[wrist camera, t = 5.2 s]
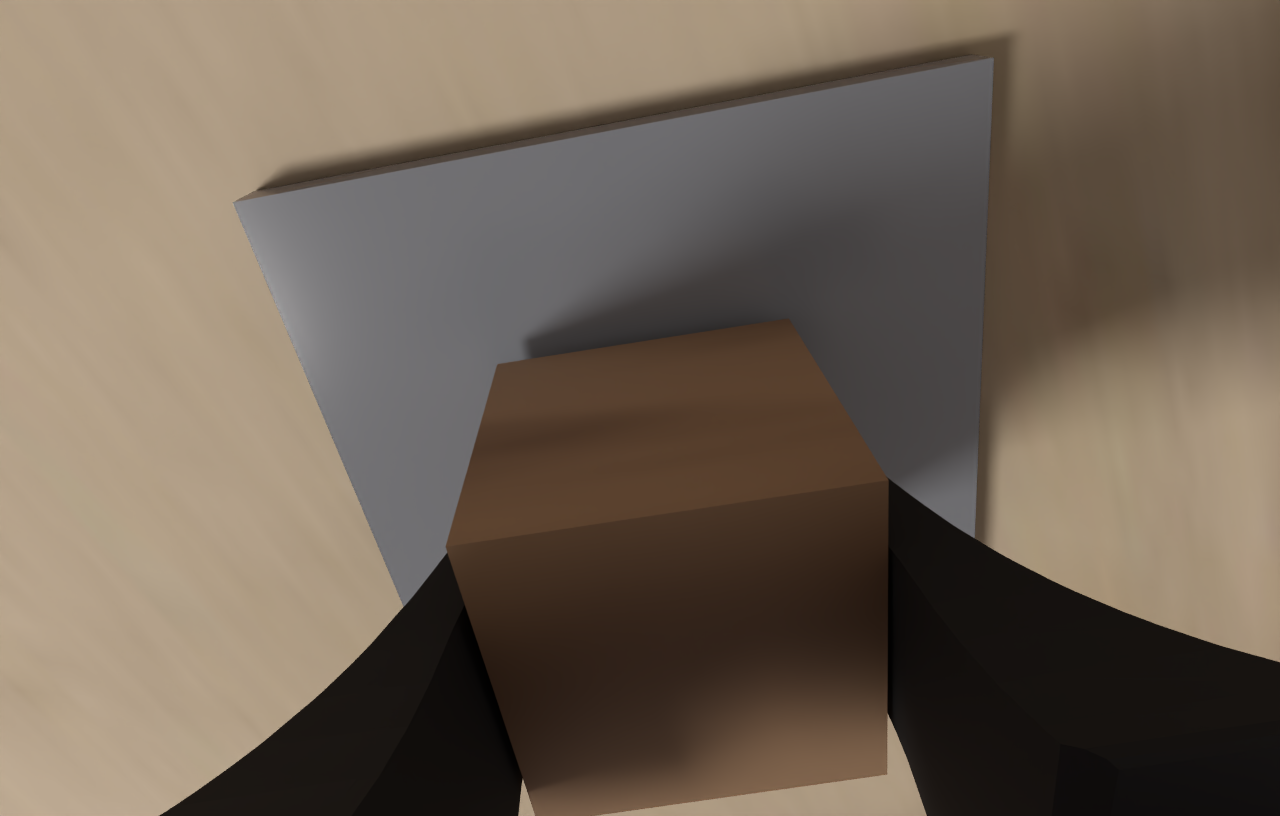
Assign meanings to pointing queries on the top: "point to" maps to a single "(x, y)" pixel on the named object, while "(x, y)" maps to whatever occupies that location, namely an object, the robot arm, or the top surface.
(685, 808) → the top surface
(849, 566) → the walnut cube
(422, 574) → the coaster
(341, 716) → the robot arm
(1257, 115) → the top surface
